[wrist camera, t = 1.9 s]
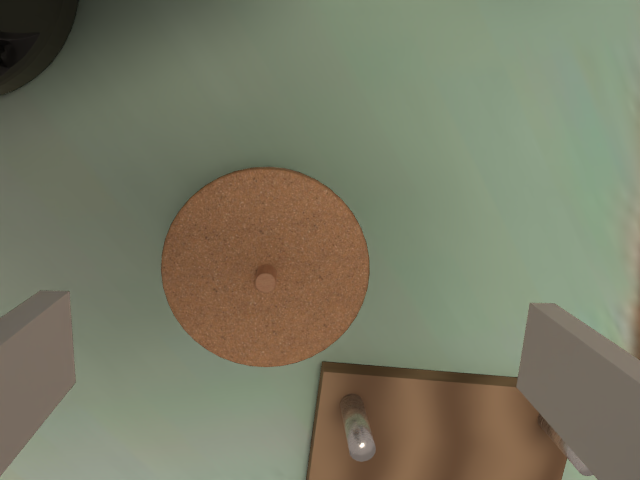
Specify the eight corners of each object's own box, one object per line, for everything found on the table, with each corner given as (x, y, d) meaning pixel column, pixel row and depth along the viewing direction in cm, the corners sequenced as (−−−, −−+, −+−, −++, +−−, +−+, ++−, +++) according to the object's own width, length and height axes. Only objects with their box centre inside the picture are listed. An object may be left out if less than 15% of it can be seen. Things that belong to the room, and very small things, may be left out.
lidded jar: (175, 169, 31) (129, 187, 22) (341, 148, 32) (364, 156, 22) (205, 324, 34) (175, 398, 24) (358, 303, 34) (385, 367, 25)
